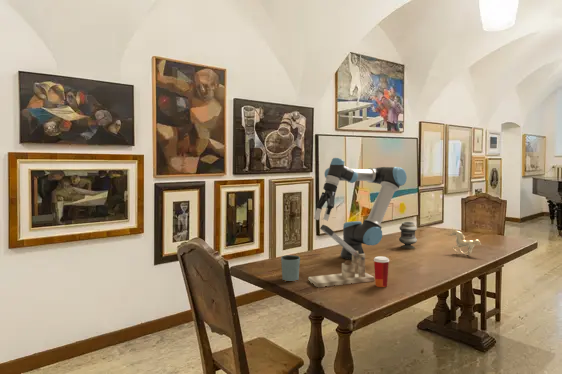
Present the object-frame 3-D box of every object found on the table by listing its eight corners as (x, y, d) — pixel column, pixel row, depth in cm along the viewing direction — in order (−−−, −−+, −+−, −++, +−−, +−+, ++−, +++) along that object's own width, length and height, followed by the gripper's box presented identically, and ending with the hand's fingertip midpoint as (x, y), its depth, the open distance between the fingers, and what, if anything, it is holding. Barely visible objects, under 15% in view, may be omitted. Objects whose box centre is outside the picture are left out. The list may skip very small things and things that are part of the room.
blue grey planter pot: (289, 275, 218) (289, 254, 218) (304, 279, 212) (304, 256, 211) (277, 280, 211) (277, 257, 210) (292, 283, 204) (292, 260, 203)
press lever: (355, 258, 213) (358, 254, 214) (361, 261, 208) (364, 256, 208) (319, 228, 206) (322, 224, 206) (324, 230, 200) (327, 226, 201)
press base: (362, 274, 219) (362, 249, 218) (374, 280, 207) (374, 254, 206) (308, 280, 209) (308, 254, 208) (317, 287, 198) (317, 259, 197)
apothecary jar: (399, 249, 281) (399, 223, 280) (399, 245, 292) (399, 221, 291) (417, 249, 277) (417, 224, 276) (416, 246, 289) (416, 221, 288)
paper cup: (386, 283, 203) (386, 255, 203) (391, 287, 196) (391, 259, 195) (371, 283, 203) (371, 256, 202) (375, 288, 196) (375, 260, 195)
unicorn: (482, 256, 255) (483, 230, 254) (480, 258, 253) (480, 231, 251) (451, 252, 269) (451, 227, 268) (448, 253, 267) (448, 227, 266)
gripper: (317, 183, 240) (306, 217, 237) (334, 180, 216) (323, 218, 213) (328, 187, 242) (318, 221, 239) (346, 185, 218) (335, 222, 215)
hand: (320, 219), depth 226 cm, fingers open, 13 cm apart
